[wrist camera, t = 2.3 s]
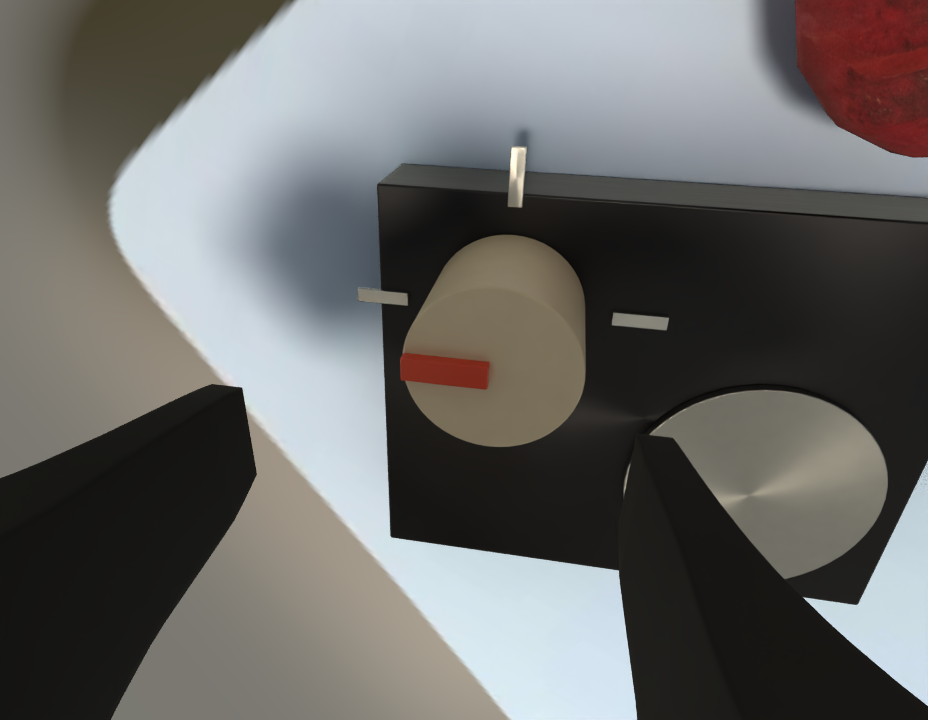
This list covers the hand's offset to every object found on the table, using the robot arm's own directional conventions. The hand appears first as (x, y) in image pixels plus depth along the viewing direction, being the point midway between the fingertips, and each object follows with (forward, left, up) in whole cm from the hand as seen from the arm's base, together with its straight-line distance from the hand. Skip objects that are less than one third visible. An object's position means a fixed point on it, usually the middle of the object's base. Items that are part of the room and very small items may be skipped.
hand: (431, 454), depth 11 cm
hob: (-5, +3, -9) cm, 10 cm away
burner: (-8, +5, -6) cm, 11 cm away
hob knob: (-1, 0, -6) cm, 6 cm away
